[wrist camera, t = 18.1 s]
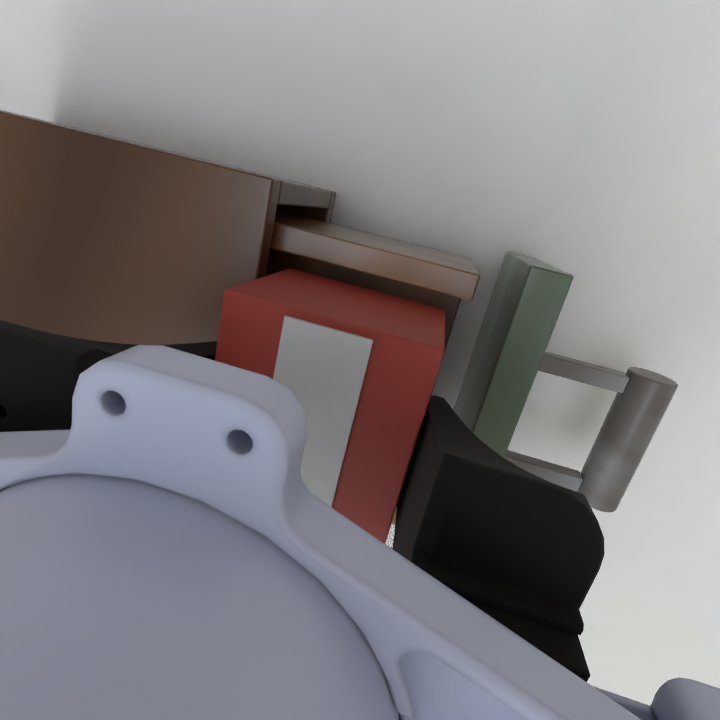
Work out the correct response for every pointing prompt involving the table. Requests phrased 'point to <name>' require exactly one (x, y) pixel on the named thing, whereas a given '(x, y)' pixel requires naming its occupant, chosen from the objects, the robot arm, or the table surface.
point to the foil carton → (341, 379)
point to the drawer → (492, 343)
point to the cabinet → (129, 234)
